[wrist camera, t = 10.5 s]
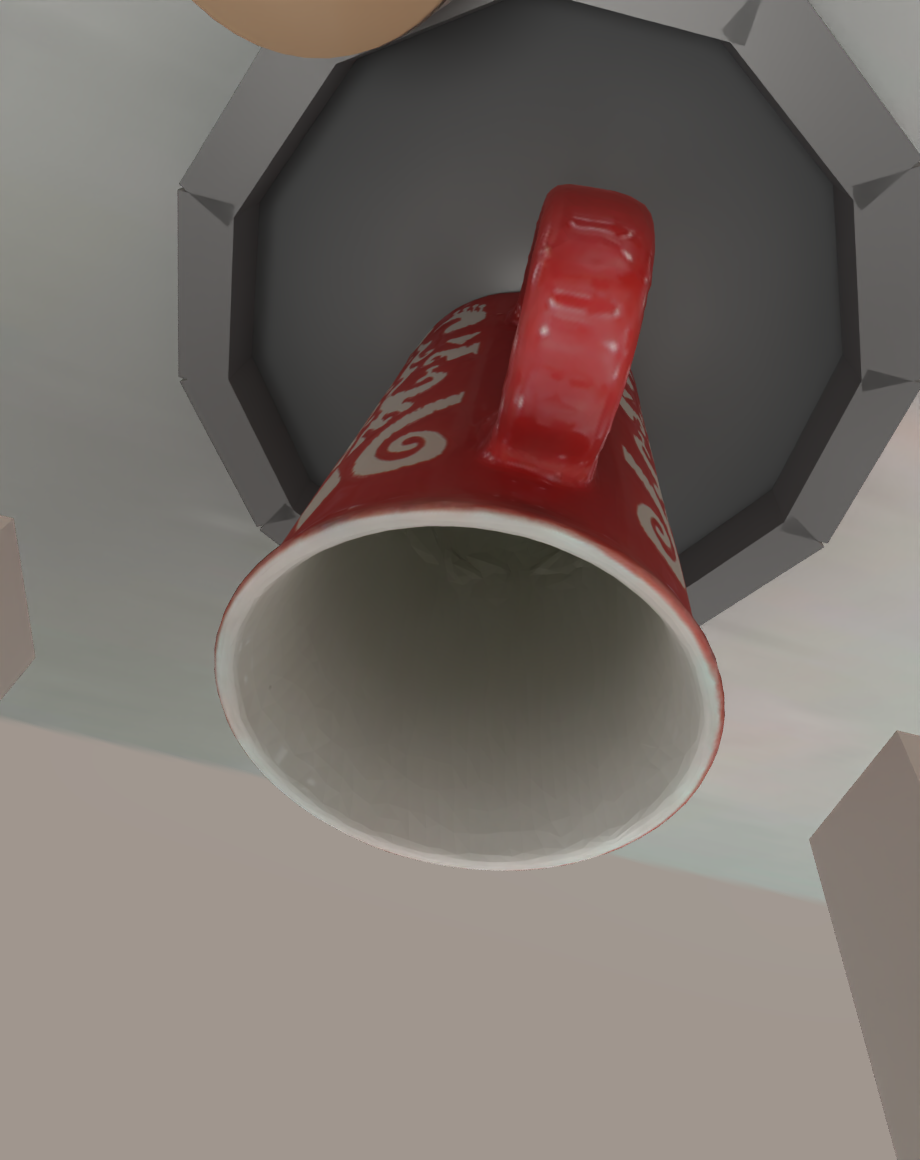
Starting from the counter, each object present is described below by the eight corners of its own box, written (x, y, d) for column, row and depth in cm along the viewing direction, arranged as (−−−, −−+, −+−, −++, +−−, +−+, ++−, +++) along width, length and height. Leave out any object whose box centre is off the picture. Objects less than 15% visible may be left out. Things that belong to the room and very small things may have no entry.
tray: (212, 526, 31) (179, 571, 28) (229, -175, 19) (175, -200, 16) (717, 654, 31) (727, 710, 28) (1054, 45, 19) (1121, 52, 16)
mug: (602, 565, 28) (605, 923, 17) (353, 488, 27) (193, 803, 17) (786, 185, 20) (999, 391, 10) (447, 69, 20) (267, 149, 9)
